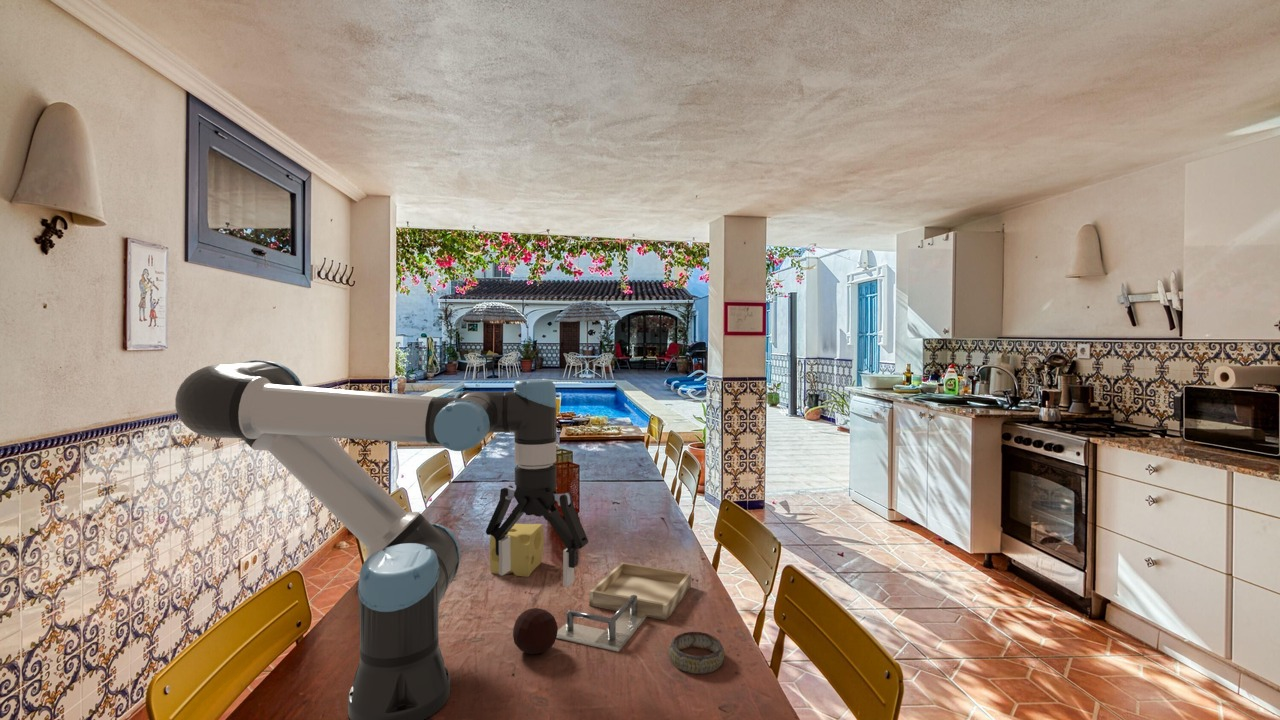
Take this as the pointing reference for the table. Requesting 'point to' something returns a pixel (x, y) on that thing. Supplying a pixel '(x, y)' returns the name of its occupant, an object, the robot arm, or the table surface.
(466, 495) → the table surface
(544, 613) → the dark brown ball
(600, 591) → the tray
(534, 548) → the cheese
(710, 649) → the decorative ring
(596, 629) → the corner grab bar
